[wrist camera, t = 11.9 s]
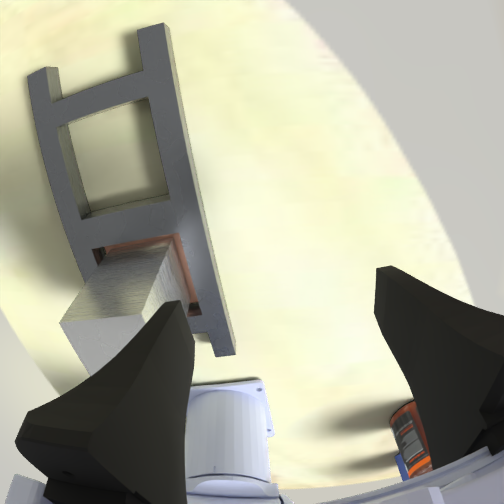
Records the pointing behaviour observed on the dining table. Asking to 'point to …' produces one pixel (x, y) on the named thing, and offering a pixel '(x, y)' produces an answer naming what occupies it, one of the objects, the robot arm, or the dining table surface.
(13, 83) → the dining table surface
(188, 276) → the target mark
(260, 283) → the dining table surface
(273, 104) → the dining table surface
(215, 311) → the rail
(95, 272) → the steel peg
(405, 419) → the supplement bottle
